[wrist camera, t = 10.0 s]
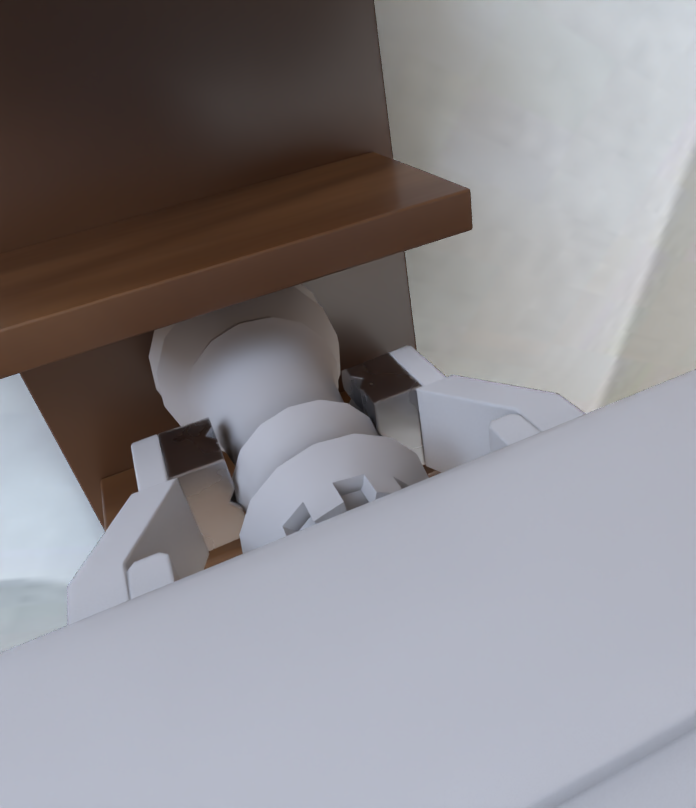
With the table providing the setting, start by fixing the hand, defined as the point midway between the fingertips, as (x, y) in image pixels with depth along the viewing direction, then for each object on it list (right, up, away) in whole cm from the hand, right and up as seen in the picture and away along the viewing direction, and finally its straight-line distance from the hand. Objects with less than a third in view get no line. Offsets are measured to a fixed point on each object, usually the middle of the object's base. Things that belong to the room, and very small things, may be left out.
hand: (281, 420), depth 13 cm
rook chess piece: (-1, +2, +3) cm, 4 cm away
